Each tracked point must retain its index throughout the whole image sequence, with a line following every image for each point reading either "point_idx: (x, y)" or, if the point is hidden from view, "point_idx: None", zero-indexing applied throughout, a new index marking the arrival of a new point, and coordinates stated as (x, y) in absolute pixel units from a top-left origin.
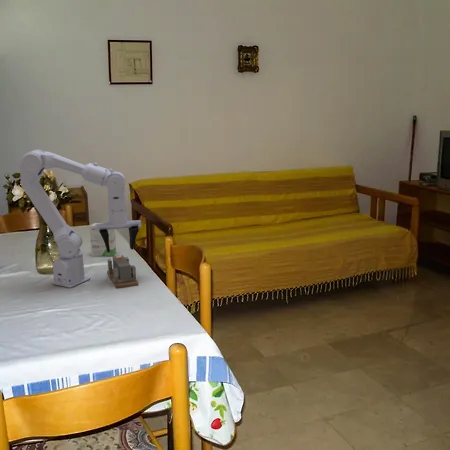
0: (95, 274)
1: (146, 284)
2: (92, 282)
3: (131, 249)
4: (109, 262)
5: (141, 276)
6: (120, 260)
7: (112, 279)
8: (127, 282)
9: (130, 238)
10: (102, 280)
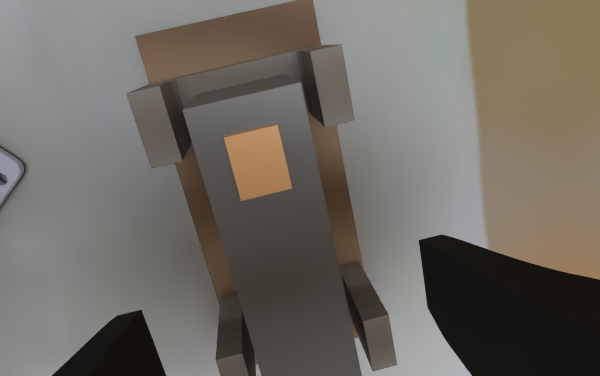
0: (39, 40)
1: (417, 311)
2: (58, 229)
3: (430, 306)
4: (159, 162)
5: (403, 162)
6: (278, 265)
7: (206, 261)
8: None
9: (505, 348)
10: (127, 199)
